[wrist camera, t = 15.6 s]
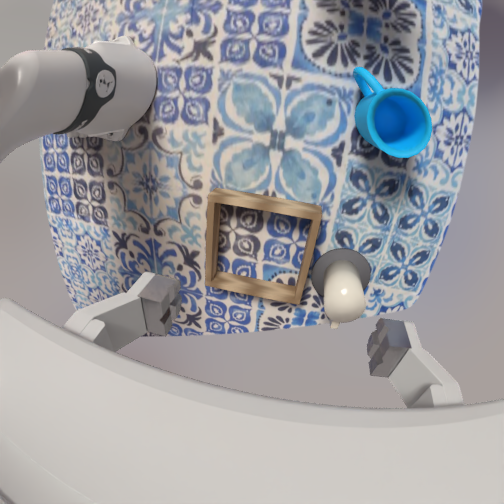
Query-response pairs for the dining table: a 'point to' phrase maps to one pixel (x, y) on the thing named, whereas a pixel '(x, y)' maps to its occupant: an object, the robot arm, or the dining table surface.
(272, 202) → the holder
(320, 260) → the grey oval disc
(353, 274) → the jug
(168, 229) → the dining table surface
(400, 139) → the mug
